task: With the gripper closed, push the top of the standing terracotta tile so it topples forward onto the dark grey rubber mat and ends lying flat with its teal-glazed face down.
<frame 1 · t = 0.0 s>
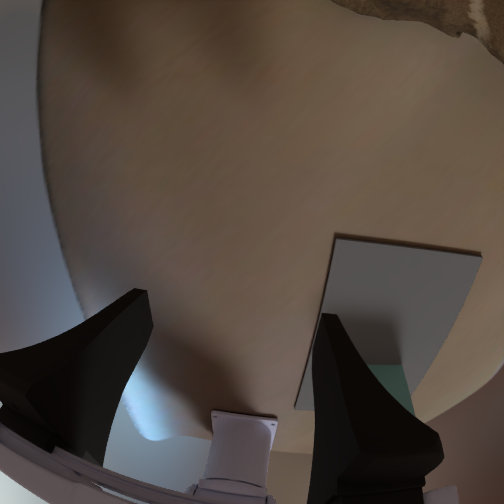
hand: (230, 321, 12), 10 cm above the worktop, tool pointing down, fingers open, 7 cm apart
mat: (380, 348, 25), on the worktop
sculpture: (470, 36, 12), on the worktop
tile: (371, 371, 26), resting on mat
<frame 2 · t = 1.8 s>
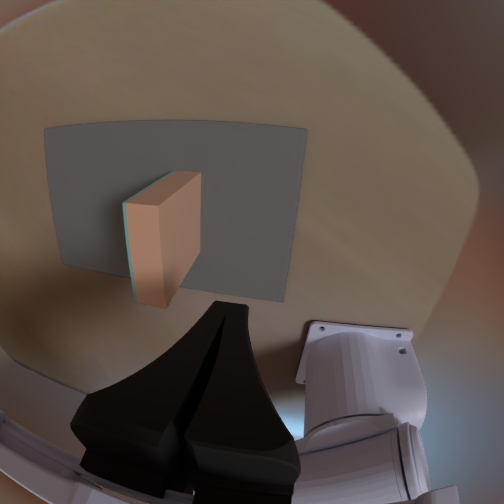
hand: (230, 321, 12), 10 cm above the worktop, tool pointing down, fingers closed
mat: (152, 207, 22), on the worktop
tile: (188, 212, 21), resting on mat
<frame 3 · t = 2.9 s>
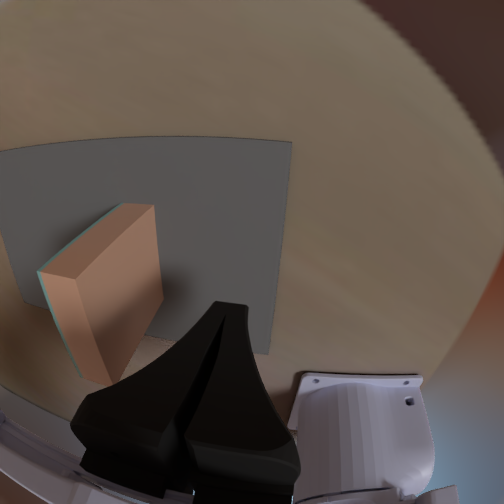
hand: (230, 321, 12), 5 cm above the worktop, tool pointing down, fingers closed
mat: (103, 246, 17), on the worktop
tile: (144, 254, 17), resting on mat
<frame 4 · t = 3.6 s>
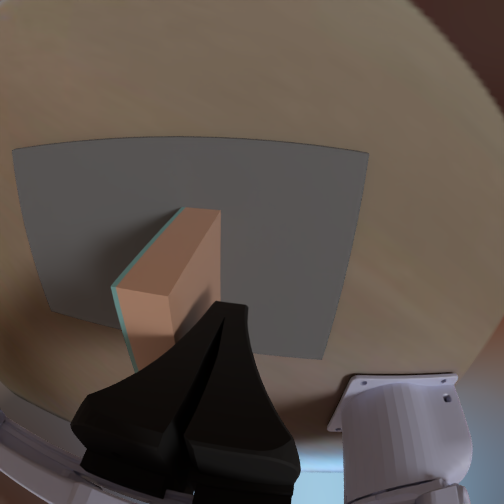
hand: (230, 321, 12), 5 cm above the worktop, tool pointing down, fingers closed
mat: (154, 252, 17), on the worktop
tile: (203, 261, 16), resting on mat, touching gripper
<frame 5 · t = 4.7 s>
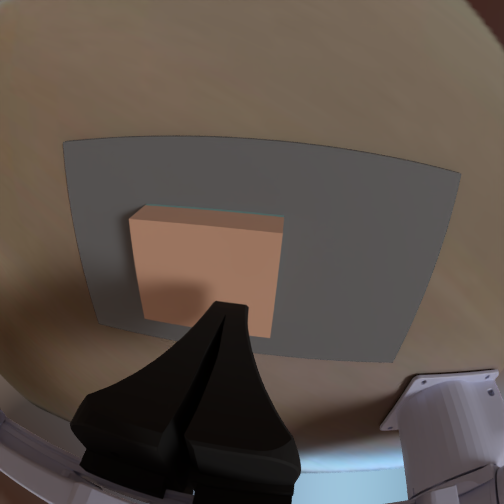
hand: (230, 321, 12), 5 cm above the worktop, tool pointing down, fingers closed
mat: (243, 262, 16), on the worktop
tile: (277, 281, 15), point 1 cm above the worktop, tilted 90°, touching mat
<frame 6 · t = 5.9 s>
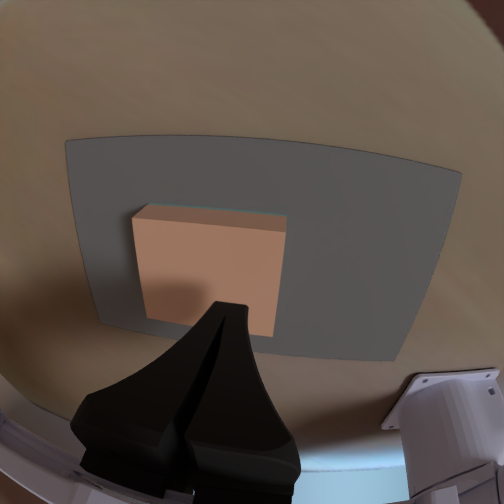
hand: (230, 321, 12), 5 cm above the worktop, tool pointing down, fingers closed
mat: (246, 261, 16), on the worktop
tile: (279, 280, 15), point 1 cm above the worktop, tilted 90°, touching mat
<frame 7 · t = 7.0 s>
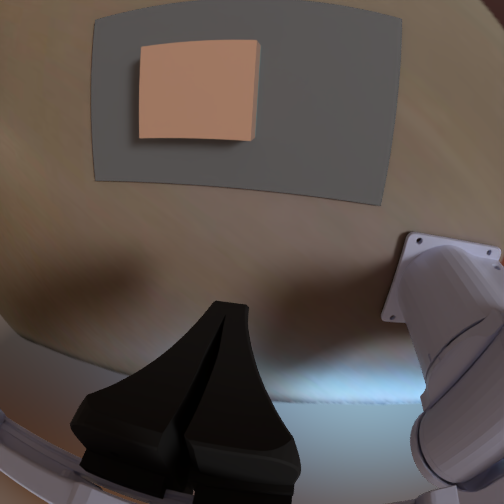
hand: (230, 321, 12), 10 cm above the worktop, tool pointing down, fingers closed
mat: (229, 89, 17), on the worktop
tile: (255, 90, 16), point 1 cm above the worktop, tilted 90°, touching mat
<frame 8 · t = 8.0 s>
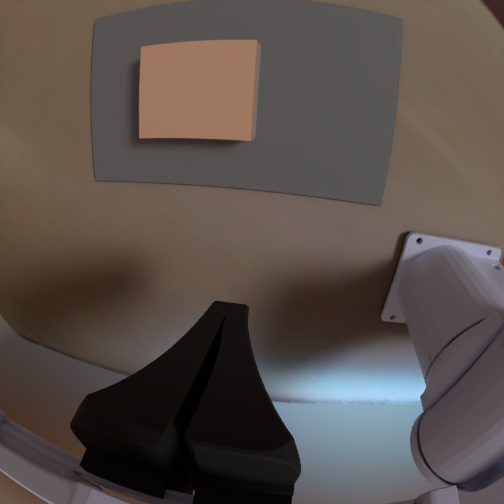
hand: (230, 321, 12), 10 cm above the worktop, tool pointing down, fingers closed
mat: (229, 89, 17), on the worktop
tile: (255, 90, 16), point 1 cm above the worktop, tilted 90°, touching mat
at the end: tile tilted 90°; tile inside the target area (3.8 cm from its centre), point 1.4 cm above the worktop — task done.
